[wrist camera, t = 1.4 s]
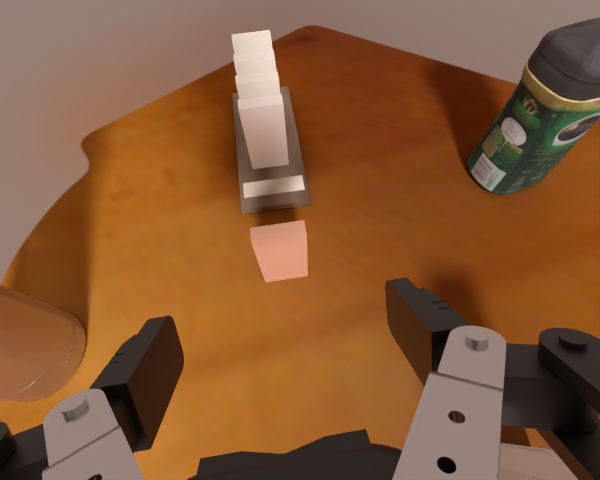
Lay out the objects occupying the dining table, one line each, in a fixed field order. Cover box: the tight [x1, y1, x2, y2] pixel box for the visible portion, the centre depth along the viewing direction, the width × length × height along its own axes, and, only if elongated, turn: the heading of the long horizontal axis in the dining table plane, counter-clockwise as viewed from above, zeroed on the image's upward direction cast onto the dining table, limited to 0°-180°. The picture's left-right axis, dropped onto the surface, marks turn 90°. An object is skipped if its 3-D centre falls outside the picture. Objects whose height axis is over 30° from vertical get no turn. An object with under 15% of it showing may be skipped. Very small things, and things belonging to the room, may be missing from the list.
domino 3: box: [235, 71, 280, 99], centre depth 43 cm, size 2×5×10 cm, turn 99°
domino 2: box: [233, 49, 276, 76], centre depth 45 cm, size 2×5×10 cm, turn 99°
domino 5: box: [250, 220, 308, 282], centre depth 34 cm, size 2×5×10 cm, turn 99°
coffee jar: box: [467, 18, 600, 195], centre depth 36 cm, size 10×8×19 cm
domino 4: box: [237, 94, 289, 169], centre depth 41 cm, size 2×5×10 cm, turn 99°
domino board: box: [232, 86, 311, 214], centre depth 47 cm, size 9×22×1 cm, turn 9°
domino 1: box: [232, 30, 272, 54], centre depth 46 cm, size 2×5×10 cm, turn 99°
